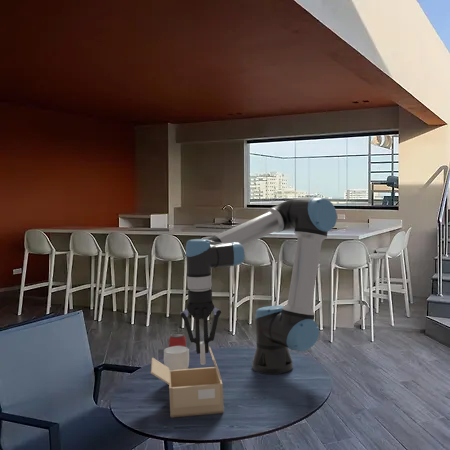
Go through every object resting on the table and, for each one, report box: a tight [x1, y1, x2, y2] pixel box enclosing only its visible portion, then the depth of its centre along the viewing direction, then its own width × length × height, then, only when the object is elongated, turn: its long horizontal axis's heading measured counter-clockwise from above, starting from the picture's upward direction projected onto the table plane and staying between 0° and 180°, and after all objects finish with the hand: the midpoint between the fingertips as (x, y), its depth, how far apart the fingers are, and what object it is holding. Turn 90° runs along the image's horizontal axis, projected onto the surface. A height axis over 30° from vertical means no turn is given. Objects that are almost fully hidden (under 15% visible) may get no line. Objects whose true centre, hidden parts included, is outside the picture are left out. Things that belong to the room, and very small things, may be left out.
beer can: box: [168, 332, 187, 347], centre depth 198 cm, size 7×7×12 cm
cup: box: [163, 346, 190, 371], centre depth 179 cm, size 9×9×12 cm
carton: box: [168, 366, 225, 419], centre depth 160 cm, size 16×16×9 cm
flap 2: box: [208, 346, 222, 380], centre depth 160 cm, size 1×14×6 cm, turn 7°
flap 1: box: [150, 357, 170, 385], centre depth 158 cm, size 1×14×6 cm
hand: (202, 363), depth 159 cm, fingers closed
